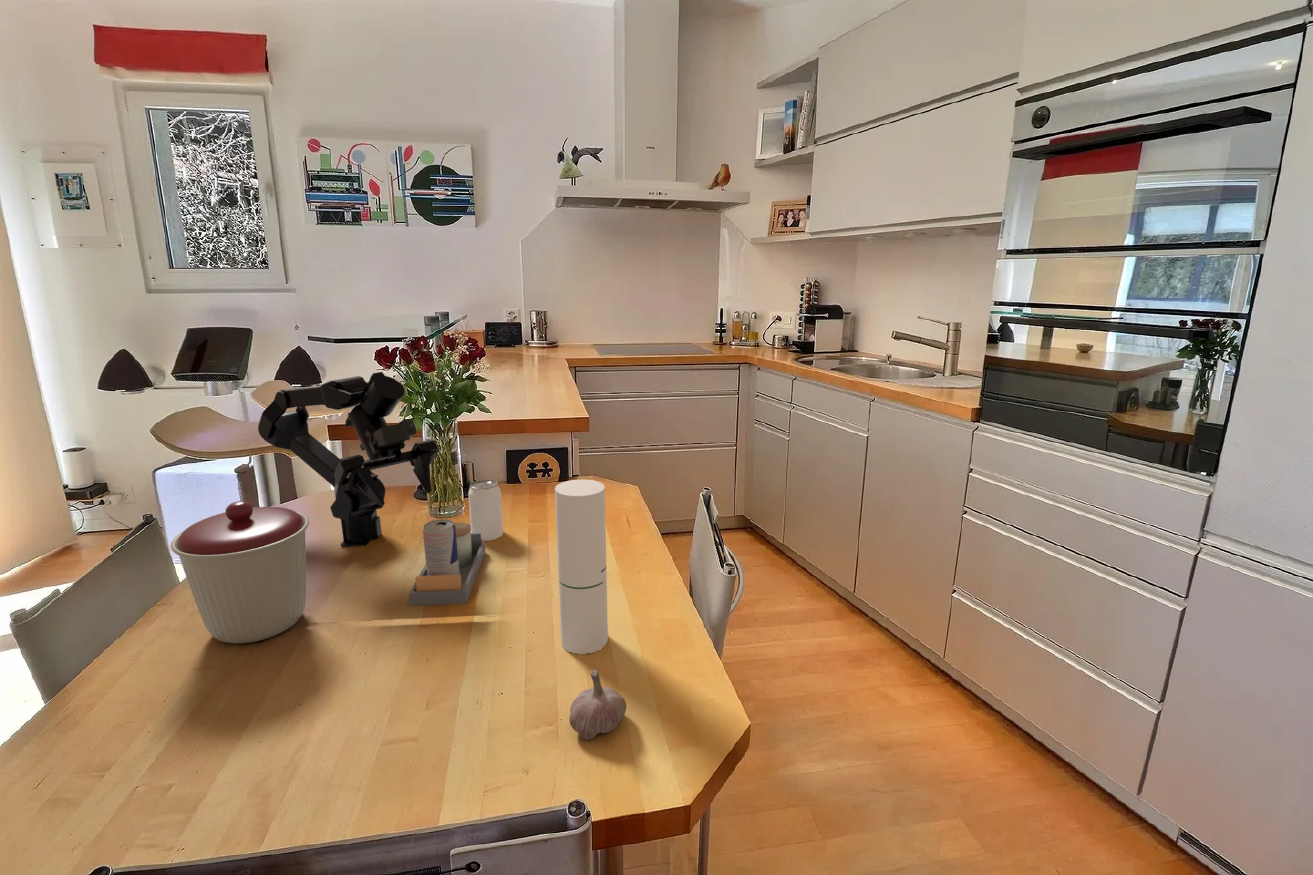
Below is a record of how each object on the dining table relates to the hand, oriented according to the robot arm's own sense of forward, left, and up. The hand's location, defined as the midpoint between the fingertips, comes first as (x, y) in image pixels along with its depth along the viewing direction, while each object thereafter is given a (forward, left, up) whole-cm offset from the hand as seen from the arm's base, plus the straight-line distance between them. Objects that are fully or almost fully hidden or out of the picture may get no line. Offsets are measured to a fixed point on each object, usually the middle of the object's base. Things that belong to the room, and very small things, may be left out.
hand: (407, 498), depth 123 cm
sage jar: (+8, -1, -13) cm, 15 cm away
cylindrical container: (+33, -29, -14) cm, 46 cm away
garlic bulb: (+35, -48, -14) cm, 61 cm away
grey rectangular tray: (+8, -7, -14) cm, 17 cm away
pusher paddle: (+8, -16, -13) cm, 22 cm away
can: (+12, +12, -14) cm, 22 cm away
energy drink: (+8, -11, -13) cm, 19 cm away
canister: (-19, -20, -14) cm, 31 cm away
